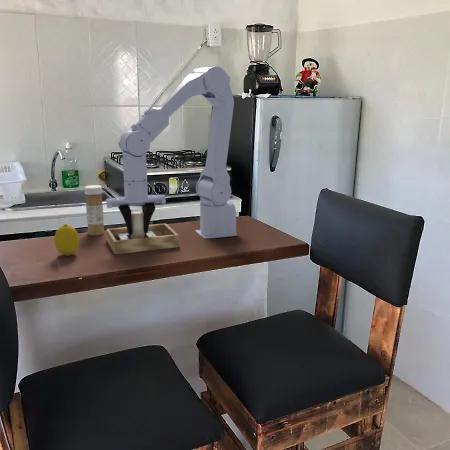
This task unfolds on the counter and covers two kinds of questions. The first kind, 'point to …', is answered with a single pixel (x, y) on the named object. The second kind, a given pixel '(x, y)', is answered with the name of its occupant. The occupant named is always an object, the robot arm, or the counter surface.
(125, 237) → the plate
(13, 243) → the counter surface
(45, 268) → the counter surface
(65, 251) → the lemon
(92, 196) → the sprinkles bottle
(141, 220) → the peg
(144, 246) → the crate
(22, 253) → the counter surface
